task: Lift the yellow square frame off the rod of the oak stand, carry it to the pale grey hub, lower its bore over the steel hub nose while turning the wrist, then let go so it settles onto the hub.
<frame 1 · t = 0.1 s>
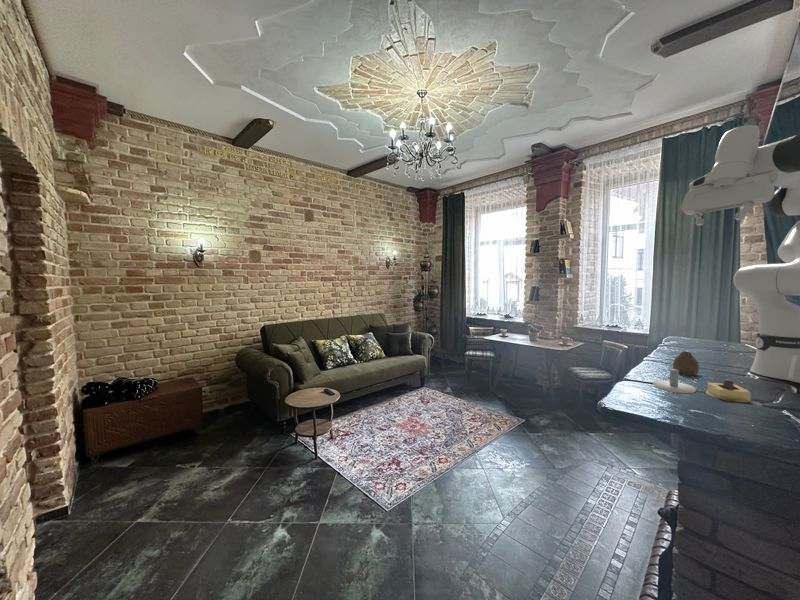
hand: (718, 222, 95), 52 cm above the countertop, tool tilted 20°, fingers open, 8 cm apart
yellow square frame: (727, 395, 90), point 1 cm above the countertop, touching oak stand
oak stand: (727, 400, 90), on the countertop
vase: (685, 376, 112), on the countertop
grey hub: (673, 391, 98), on the countertop
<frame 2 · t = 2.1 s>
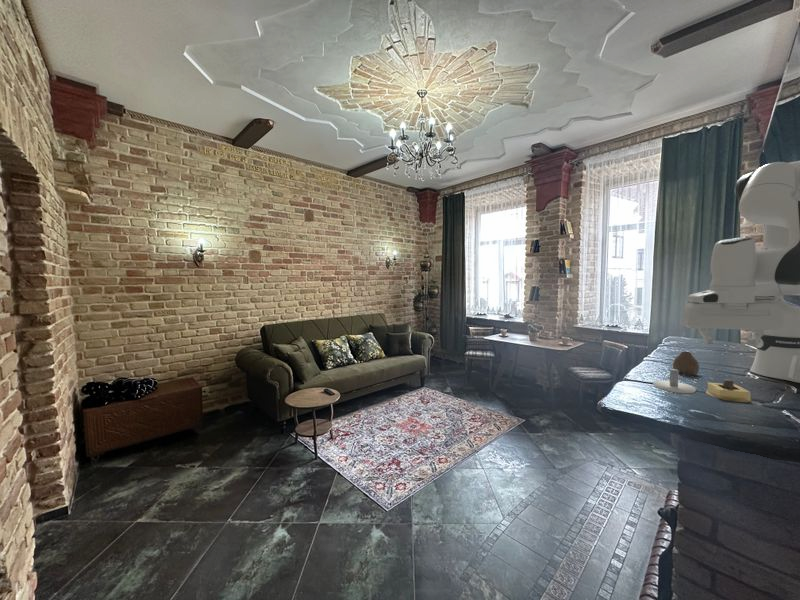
hand: (729, 344, 89), 16 cm above the countertop, tool pointing down, fingers open, 8 cm apart
nothing on the countertop moved.
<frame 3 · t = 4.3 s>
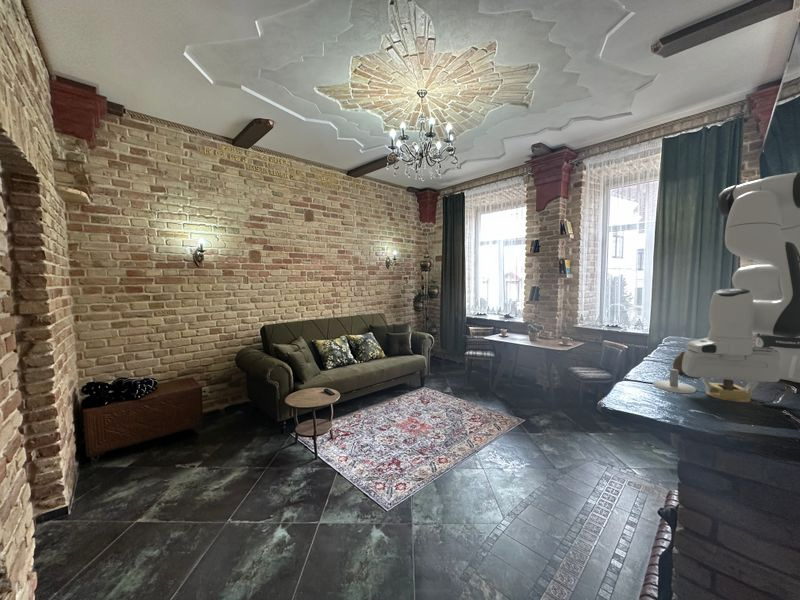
hand: (727, 393, 90), 2 cm above the countertop, tool pointing down, fingers closed on yellow square frame, 6 cm apart
yellow square frame: (727, 395, 90), point 1 cm above the countertop, touching gripper, oak stand
everything else where it was.
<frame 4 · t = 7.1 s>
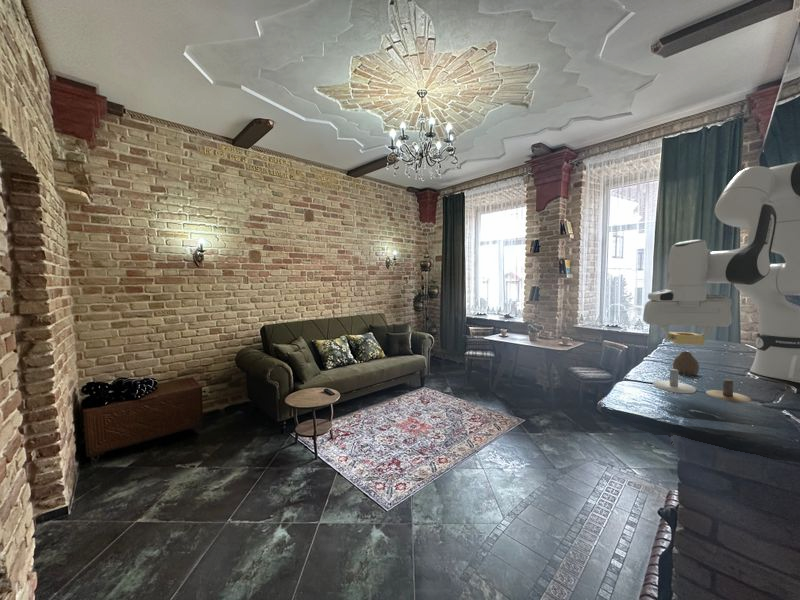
hand: (684, 340, 95), 17 cm above the countertop, tool pointing down, fingers closed on yellow square frame, 6 cm apart
yellow square frame: (684, 342, 95), point 16 cm above the countertop, touching gripper
everything else where it was.
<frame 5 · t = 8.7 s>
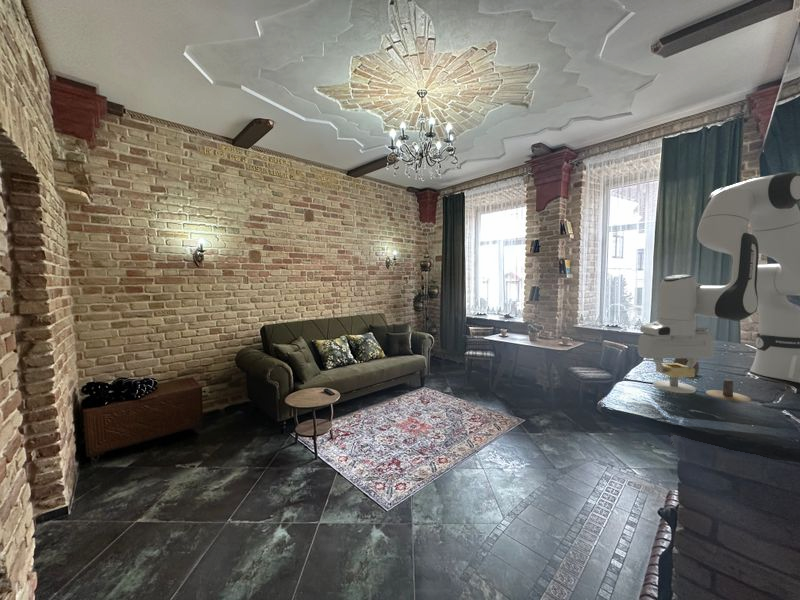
hand: (674, 372, 97), 6 cm above the countertop, tool pointing down, fingers closed on yellow square frame, 6 cm apart
yellow square frame: (674, 373, 97), point 6 cm above the countertop, touching gripper
everything else where it was.
when the fingers open (4 cm above the countertop, at t = 10.1 s): yellow square frame drops 1 cm, resting on grey hub.
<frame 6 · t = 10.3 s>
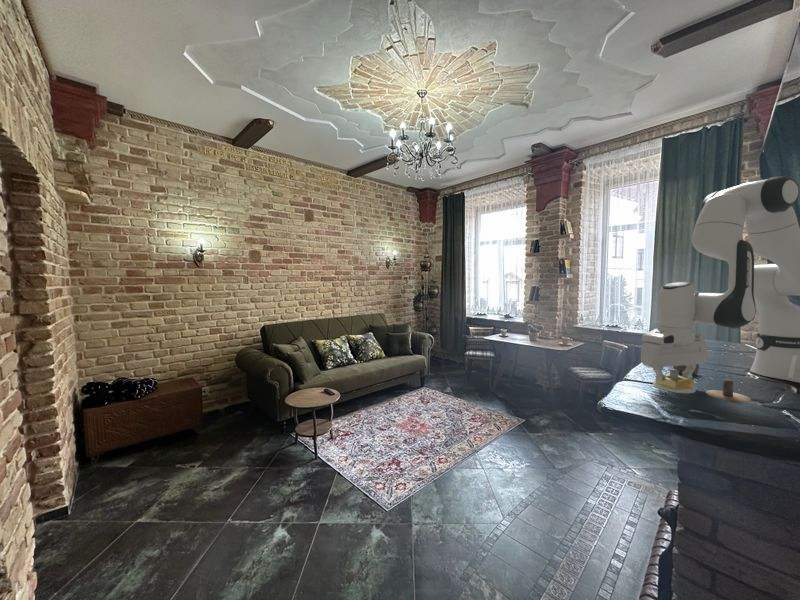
hand: (674, 379, 98), 4 cm above the countertop, tool pointing down, fingers open, 8 cm apart
yellow square frame: (674, 385, 98), point 2 cm above the countertop, touching grey hub
everything else where it was.
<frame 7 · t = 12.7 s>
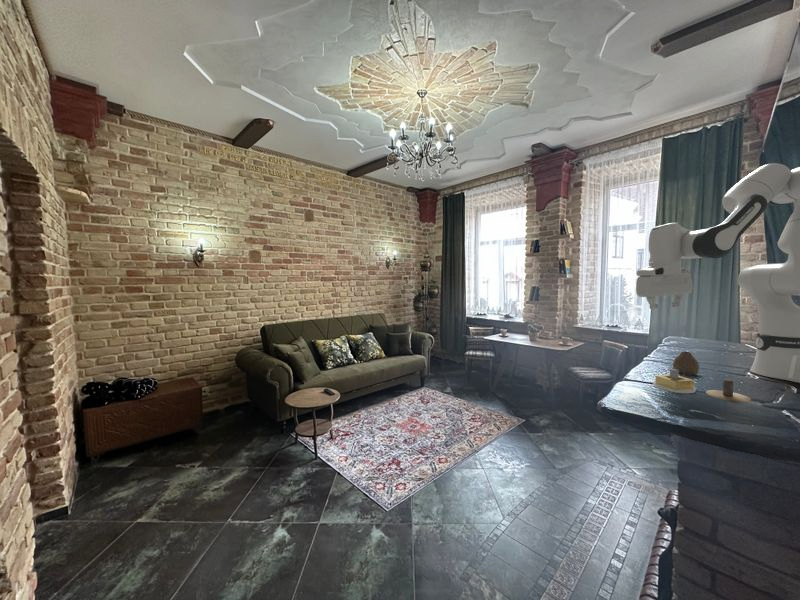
hand: (664, 307, 113), 24 cm above the countertop, tool pointing down, fingers open, 8 cm apart
nothing on the countertop moved.
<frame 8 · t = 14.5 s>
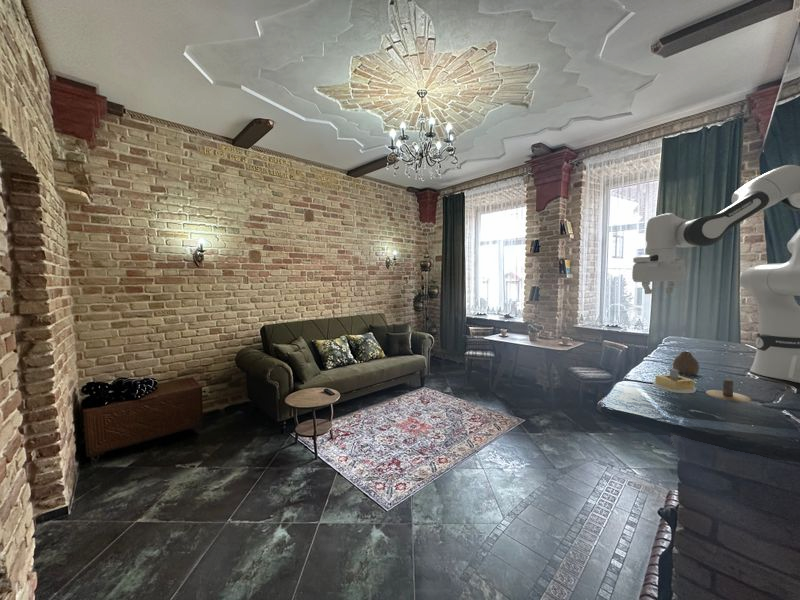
hand: (658, 293, 121), 29 cm above the countertop, tool pointing down, fingers open, 8 cm apart
nothing on the countertop moved.
at the end: yellow square frame 0.1 cm off-centre on the grey hub, point 2.0 cm above the grey hub's base; yellow square frame tilted 0°; the gripper is holding nothing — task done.
